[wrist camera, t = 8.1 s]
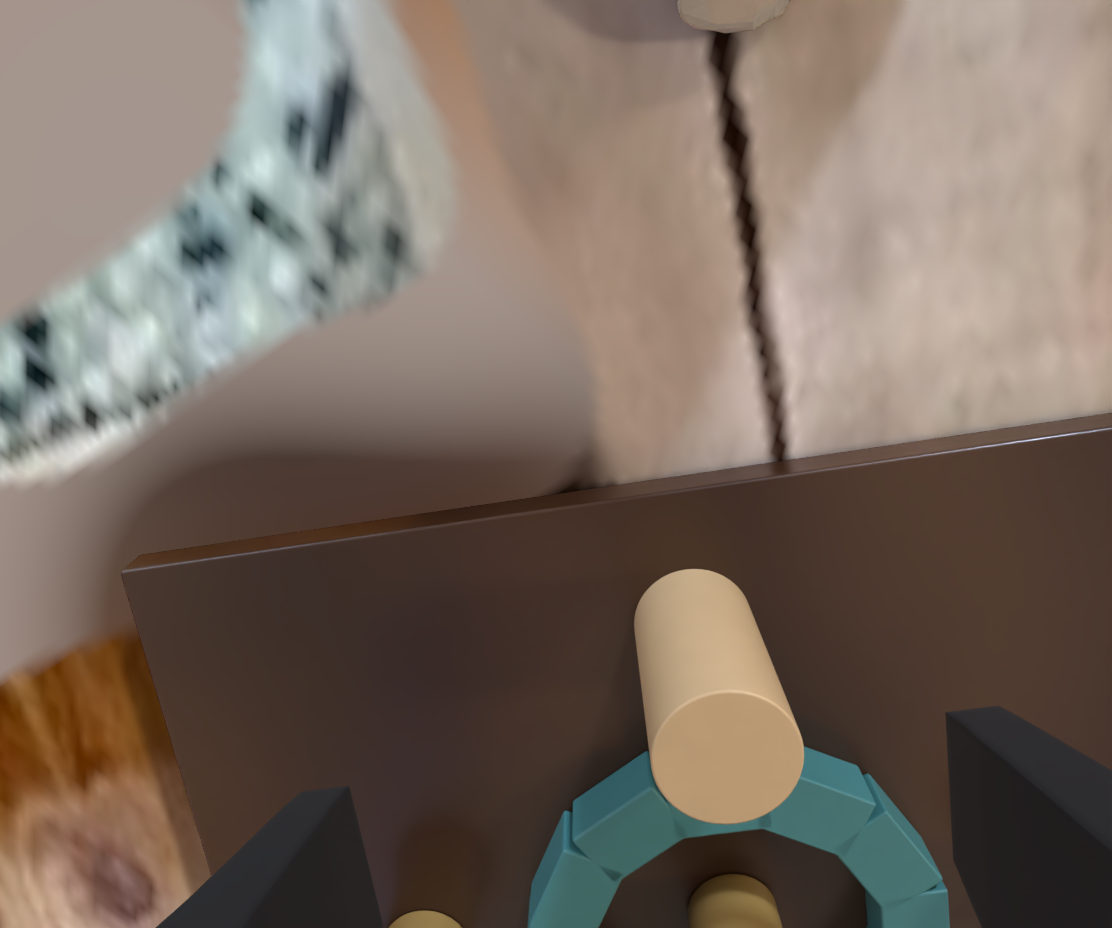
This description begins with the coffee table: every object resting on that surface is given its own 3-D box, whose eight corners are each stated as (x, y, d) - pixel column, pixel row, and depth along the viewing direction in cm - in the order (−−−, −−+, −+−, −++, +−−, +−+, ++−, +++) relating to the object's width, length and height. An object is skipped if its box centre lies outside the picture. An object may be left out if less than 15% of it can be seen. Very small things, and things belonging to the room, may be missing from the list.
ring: (566, 1082, 23) (563, 1313, 19) (471, 598, 20) (437, 728, 15) (938, 1043, 23) (1033, 1271, 18) (905, 537, 20) (1011, 653, 15)
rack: (298, 1096, 25) (243, 1273, 21) (138, 554, 21) (32, 642, 17) (1225, 997, 24) (1361, 1167, 19) (1244, 392, 20) (1419, 447, 15)
